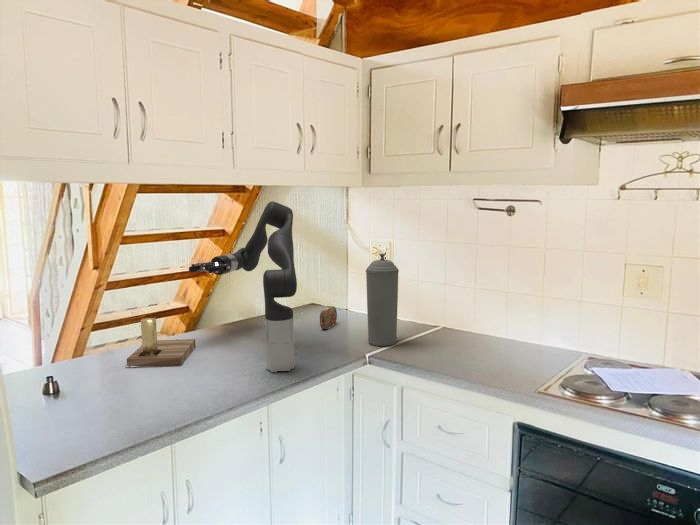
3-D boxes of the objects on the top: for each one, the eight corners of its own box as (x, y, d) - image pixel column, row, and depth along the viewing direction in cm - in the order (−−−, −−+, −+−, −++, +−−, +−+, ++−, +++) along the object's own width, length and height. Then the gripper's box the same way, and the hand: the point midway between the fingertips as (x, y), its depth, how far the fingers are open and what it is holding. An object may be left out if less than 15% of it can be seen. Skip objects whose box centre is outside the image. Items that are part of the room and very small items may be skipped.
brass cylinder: (156, 363, 176) (153, 321, 174) (141, 363, 176) (138, 321, 174) (160, 358, 181) (157, 317, 179) (145, 359, 181) (143, 318, 179)
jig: (181, 365, 173) (180, 357, 173) (127, 367, 172) (126, 359, 172) (195, 346, 195) (195, 339, 195) (147, 348, 194) (146, 340, 193)
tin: (325, 331, 215) (325, 312, 214) (318, 330, 216) (318, 311, 215) (337, 323, 230) (337, 304, 228) (331, 322, 231) (330, 304, 229)
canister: (369, 337, 205) (368, 251, 201) (400, 339, 203) (400, 251, 198) (363, 346, 193) (362, 255, 188) (396, 348, 190) (396, 255, 186)
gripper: (209, 254, 207) (182, 259, 192) (239, 255, 202) (214, 260, 187) (209, 272, 208) (184, 279, 193) (239, 274, 203) (215, 280, 188)
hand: (199, 270), depth 190 cm, fingers open, 8 cm apart
